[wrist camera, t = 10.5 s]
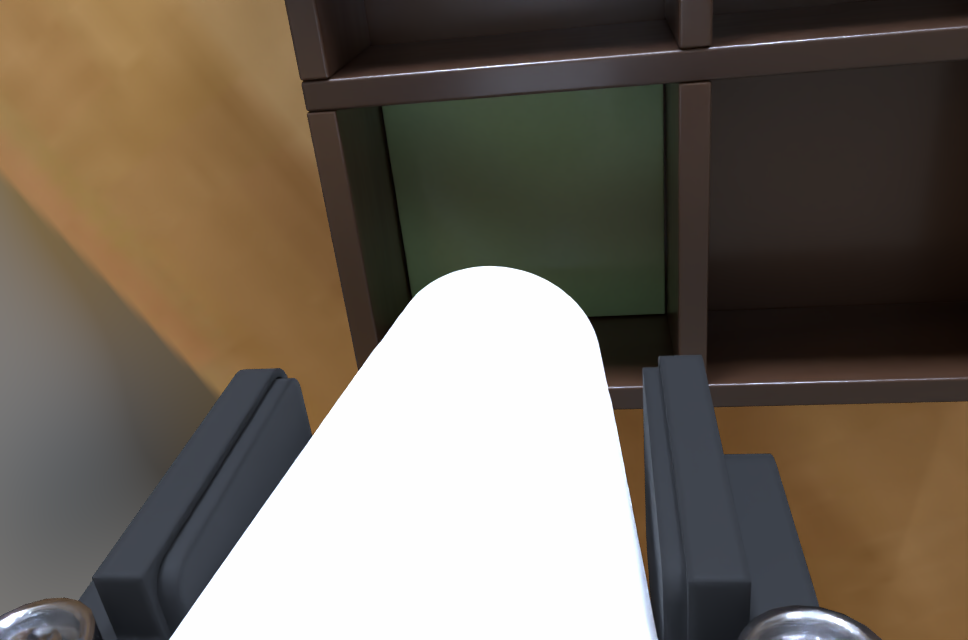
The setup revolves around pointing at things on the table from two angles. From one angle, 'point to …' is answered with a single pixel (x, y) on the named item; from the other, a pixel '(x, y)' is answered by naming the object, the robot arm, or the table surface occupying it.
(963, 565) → the table surface
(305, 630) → the cup
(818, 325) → the tray
